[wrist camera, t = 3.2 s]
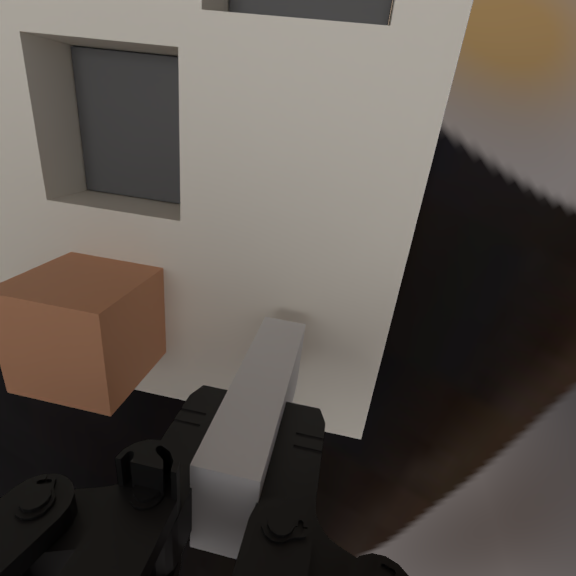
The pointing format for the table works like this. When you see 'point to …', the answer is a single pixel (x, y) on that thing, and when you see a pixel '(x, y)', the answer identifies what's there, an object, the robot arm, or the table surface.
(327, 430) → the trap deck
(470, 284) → the table surface
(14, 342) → the block
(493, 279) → the table surface
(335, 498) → the table surface
